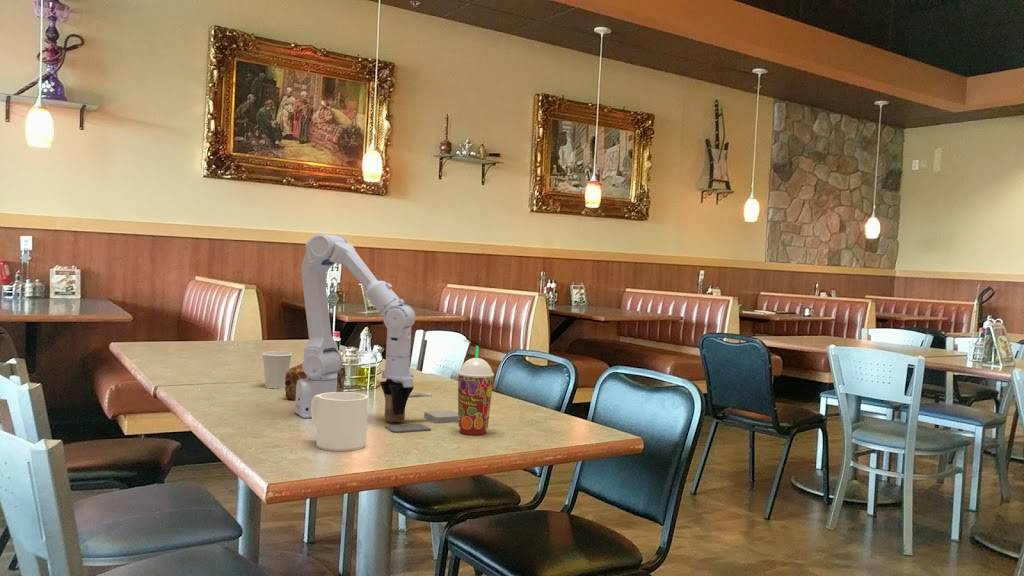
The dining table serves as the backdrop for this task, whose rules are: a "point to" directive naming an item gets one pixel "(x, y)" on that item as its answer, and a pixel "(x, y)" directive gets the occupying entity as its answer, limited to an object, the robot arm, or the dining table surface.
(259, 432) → the dining table surface
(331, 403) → the mug
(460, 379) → the smoothie
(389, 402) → the brown white angled block
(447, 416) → the tile
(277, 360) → the dixie cup
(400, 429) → the mat
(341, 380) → the bread
